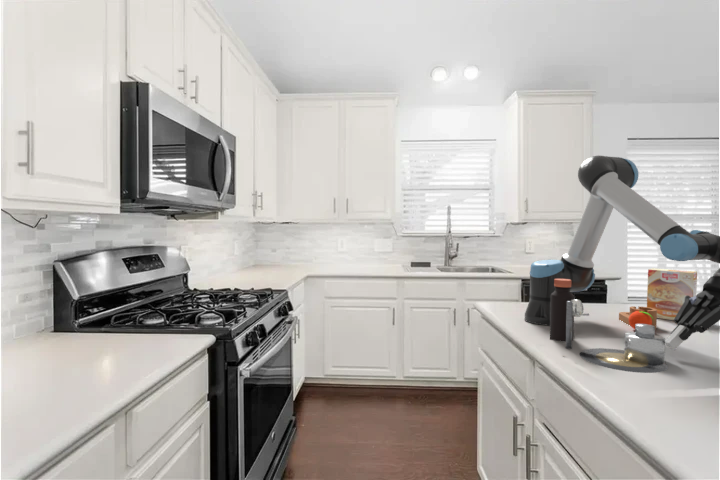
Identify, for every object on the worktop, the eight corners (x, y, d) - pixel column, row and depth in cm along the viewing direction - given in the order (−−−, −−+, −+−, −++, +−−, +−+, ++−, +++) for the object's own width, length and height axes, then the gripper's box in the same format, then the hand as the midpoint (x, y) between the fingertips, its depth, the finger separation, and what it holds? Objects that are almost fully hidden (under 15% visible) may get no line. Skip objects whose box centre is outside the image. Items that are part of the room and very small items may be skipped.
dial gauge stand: (557, 349, 124) (558, 298, 124) (582, 349, 125) (583, 297, 125) (567, 355, 120) (568, 301, 119) (593, 354, 120) (594, 300, 120)
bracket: (660, 330, 149) (661, 311, 149) (634, 329, 151) (635, 310, 150) (638, 319, 166) (639, 302, 166) (615, 318, 168) (615, 301, 168)
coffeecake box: (646, 316, 171) (647, 269, 170) (650, 314, 175) (652, 267, 175) (692, 323, 160) (694, 272, 159) (695, 320, 164) (697, 270, 164)
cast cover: (616, 353, 117) (617, 321, 116) (646, 353, 118) (647, 321, 117) (641, 364, 108) (642, 330, 108) (673, 363, 109) (674, 329, 109)
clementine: (659, 332, 145) (660, 312, 145) (647, 334, 142) (648, 314, 142) (635, 327, 153) (636, 308, 152) (623, 329, 150) (624, 309, 149)
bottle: (550, 343, 131) (551, 280, 130) (549, 338, 137) (550, 277, 136) (574, 346, 128) (576, 281, 127) (572, 340, 134) (573, 278, 134)
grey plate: (564, 353, 121) (564, 349, 121) (628, 351, 123) (628, 347, 123) (613, 378, 101) (613, 373, 101) (688, 375, 103) (688, 371, 103)
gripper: (696, 271, 121) (642, 330, 120) (742, 277, 108) (682, 343, 107) (712, 289, 122) (658, 348, 120) (760, 297, 109) (700, 363, 107)
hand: (669, 345), depth 113 cm, fingers closed
